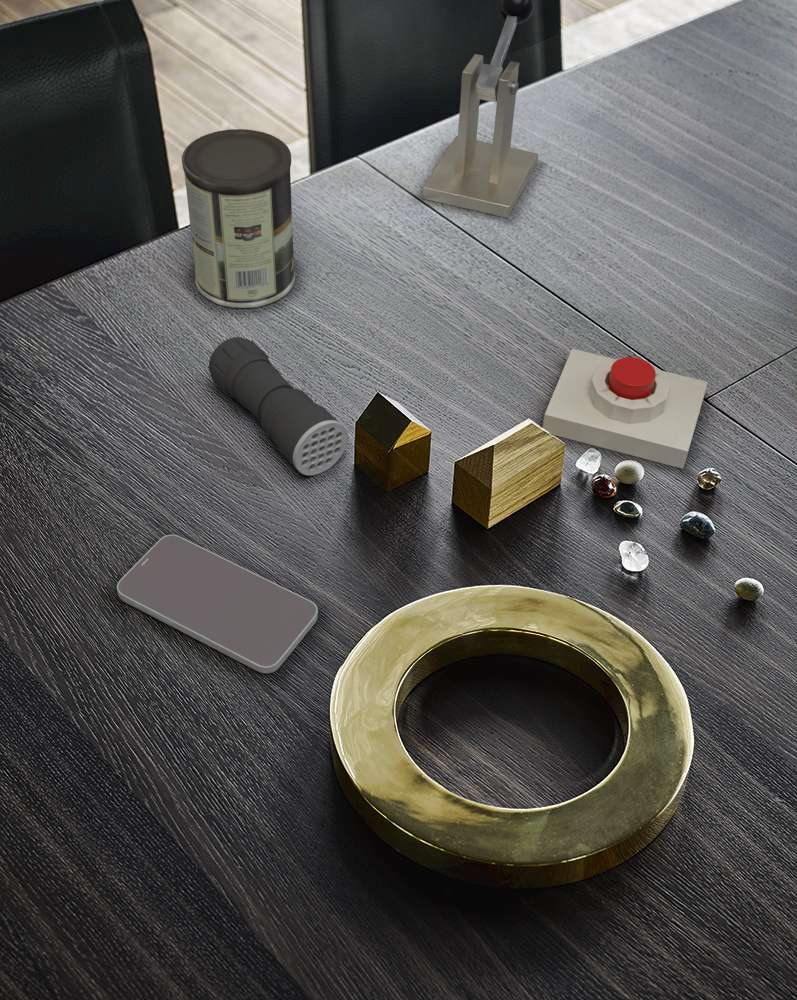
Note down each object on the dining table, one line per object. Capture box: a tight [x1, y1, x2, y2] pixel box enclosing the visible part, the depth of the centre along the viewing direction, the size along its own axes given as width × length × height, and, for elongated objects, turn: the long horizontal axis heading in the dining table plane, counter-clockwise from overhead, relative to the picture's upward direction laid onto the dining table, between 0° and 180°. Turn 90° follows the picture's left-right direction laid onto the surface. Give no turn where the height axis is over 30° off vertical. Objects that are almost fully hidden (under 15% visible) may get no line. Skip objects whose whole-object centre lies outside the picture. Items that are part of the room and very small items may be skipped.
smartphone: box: [116, 534, 319, 674], centre depth 98 cm, size 7×1×15 cm
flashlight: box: [208, 336, 349, 476], centre depth 111 cm, size 15×5×5 cm, turn 37°
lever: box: [476, 0, 535, 103], centre depth 135 cm, size 13×4×4 cm, turn 160°
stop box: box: [542, 348, 709, 470], centre depth 114 cm, size 13×10×4 cm
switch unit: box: [422, 53, 539, 219], centre depth 138 cm, size 12×10×14 cm
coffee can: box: [181, 128, 296, 309], centre depth 123 cm, size 10×10×14 cm
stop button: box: [608, 356, 656, 400], centre depth 112 cm, size 4×4×2 cm
